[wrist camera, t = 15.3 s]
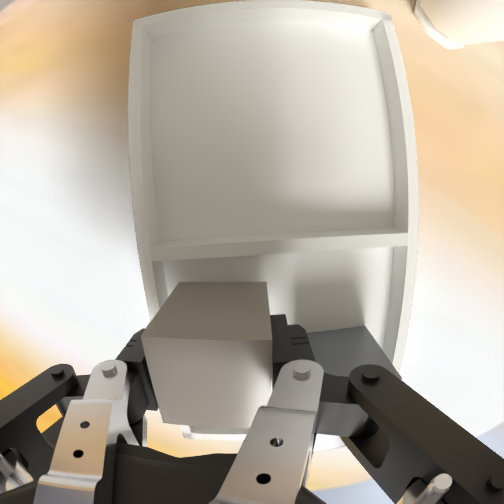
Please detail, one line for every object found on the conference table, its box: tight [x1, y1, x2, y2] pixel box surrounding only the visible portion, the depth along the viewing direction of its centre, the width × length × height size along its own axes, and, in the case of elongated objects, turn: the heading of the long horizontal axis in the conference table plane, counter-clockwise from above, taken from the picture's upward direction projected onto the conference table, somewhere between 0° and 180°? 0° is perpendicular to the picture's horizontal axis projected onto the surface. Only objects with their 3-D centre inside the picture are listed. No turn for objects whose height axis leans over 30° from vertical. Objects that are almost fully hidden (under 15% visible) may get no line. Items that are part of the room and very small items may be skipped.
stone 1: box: [141, 282, 272, 429], centre depth 11 cm, size 4×4×5 cm
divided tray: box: [128, 0, 419, 440], centre depth 13 cm, size 13×24×2 cm, turn 4°
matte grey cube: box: [307, 326, 402, 451], centre depth 13 cm, size 4×4×5 cm
